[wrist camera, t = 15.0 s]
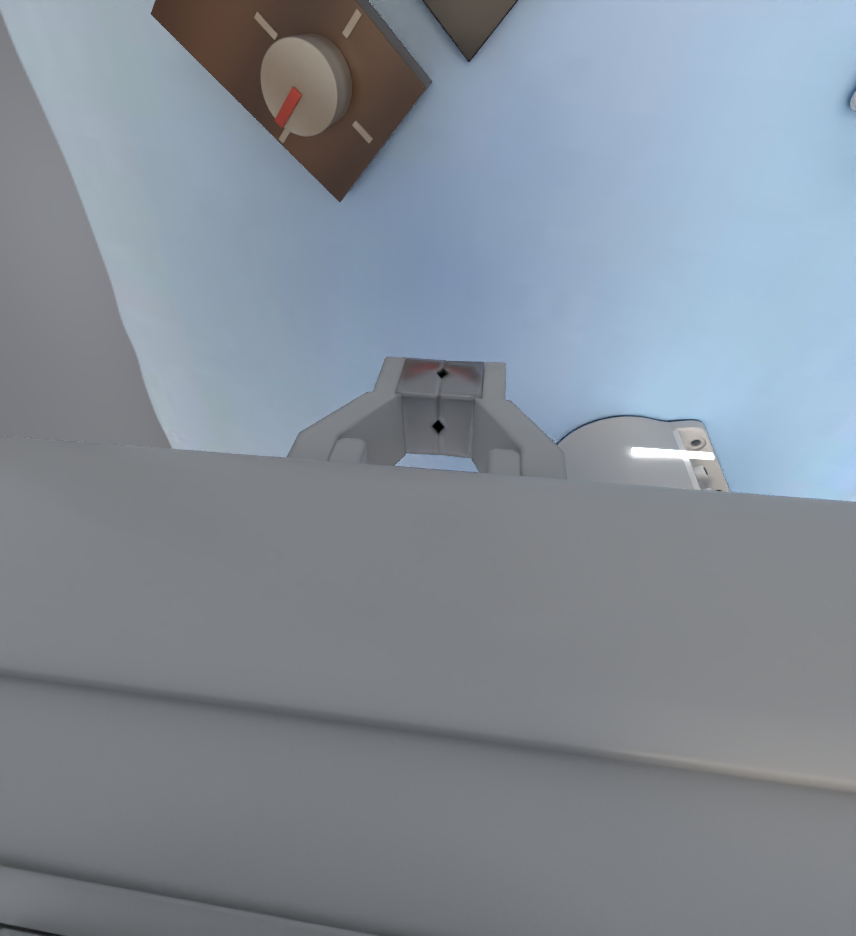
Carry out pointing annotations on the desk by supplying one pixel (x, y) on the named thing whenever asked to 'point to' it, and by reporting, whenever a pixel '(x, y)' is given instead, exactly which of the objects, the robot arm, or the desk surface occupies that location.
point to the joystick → (853, 102)
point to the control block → (469, 20)
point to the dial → (306, 83)
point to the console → (294, 13)
